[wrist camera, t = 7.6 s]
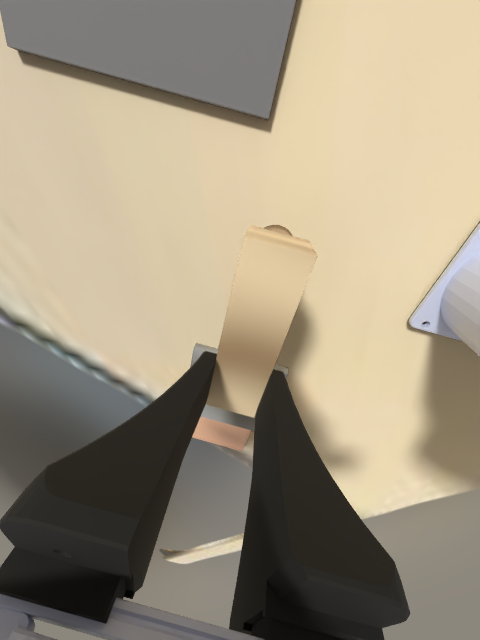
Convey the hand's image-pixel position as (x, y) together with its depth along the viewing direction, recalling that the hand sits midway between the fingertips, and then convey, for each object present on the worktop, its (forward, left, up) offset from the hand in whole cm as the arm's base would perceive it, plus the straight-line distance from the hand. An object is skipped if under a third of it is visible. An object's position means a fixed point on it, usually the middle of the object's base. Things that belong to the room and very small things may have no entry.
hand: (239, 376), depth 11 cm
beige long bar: (0, 0, -4) cm, 4 cm away
